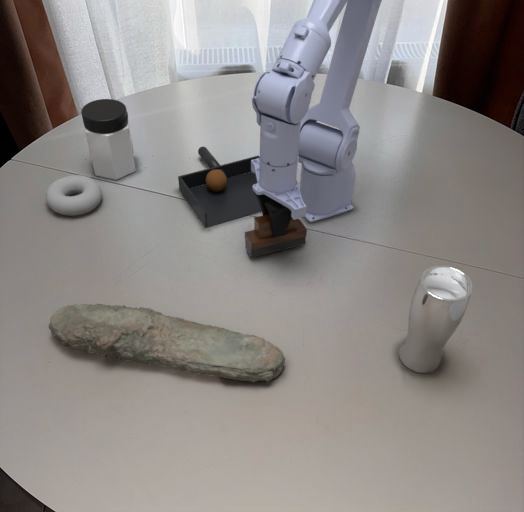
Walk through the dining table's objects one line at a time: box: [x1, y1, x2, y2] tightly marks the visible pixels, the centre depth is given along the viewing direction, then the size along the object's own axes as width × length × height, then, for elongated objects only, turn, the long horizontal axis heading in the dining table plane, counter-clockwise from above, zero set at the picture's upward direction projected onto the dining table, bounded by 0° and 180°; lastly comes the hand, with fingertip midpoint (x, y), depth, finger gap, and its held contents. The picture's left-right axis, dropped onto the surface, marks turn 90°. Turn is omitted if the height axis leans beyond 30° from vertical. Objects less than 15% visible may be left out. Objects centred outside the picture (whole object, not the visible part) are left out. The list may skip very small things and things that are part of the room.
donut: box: [45, 174, 103, 217], centre depth 106 cm, size 10×4×10 cm
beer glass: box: [398, 264, 474, 374], centre depth 79 cm, size 7×7×15 cm
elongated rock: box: [48, 303, 286, 383], centre depth 83 cm, size 35×5×10 cm
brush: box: [244, 214, 308, 258], centre depth 97 cm, size 10×3×6 cm, turn 112°
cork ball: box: [206, 169, 227, 192], centre depth 109 cm, size 4×4×4 cm
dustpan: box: [177, 146, 262, 229], centre depth 111 cm, size 21×17×3 cm
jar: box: [80, 98, 137, 181], centre depth 110 cm, size 9×8×12 cm
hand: (275, 229), depth 96 cm, fingers closed on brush, 2 cm apart
